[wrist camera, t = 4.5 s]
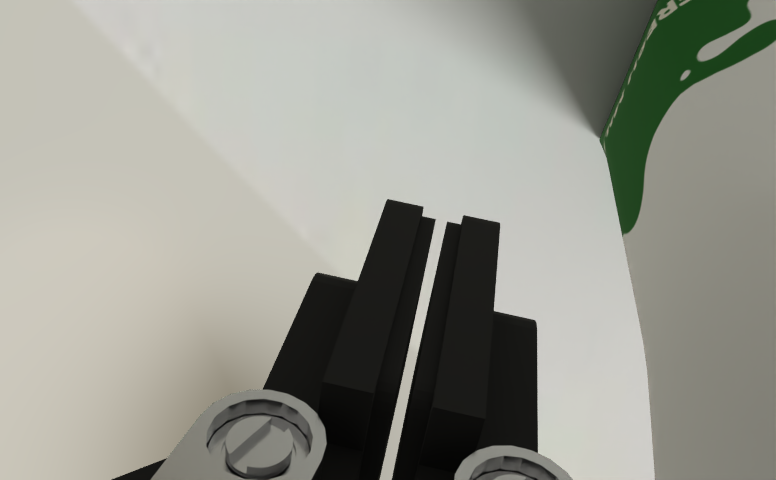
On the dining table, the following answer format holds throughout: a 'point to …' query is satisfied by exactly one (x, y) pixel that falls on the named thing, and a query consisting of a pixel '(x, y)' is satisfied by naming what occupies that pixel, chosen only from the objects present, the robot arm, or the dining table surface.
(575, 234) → the dining table surface
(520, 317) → the robot arm
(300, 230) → the dining table surface
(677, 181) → the white and green box
